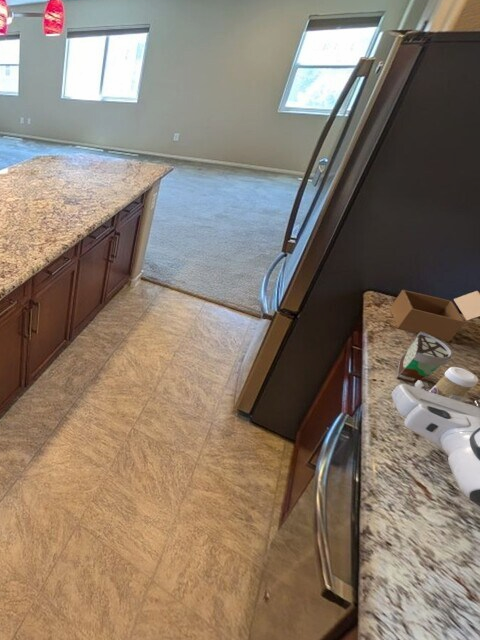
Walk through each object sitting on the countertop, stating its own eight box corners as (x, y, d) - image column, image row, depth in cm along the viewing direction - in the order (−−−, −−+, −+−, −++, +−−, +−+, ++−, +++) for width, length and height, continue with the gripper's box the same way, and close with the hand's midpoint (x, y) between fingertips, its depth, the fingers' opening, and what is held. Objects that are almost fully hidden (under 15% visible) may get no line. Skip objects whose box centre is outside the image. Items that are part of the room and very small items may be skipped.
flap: (453, 299, 117) (454, 299, 117) (466, 320, 109) (467, 321, 108) (477, 290, 113) (478, 291, 113) (493, 311, 105) (494, 312, 105)
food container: (429, 395, 97) (454, 367, 92) (395, 381, 101) (418, 353, 96) (431, 369, 104) (455, 342, 99) (399, 357, 108) (420, 330, 103)
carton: (437, 319, 121) (452, 301, 117) (449, 342, 113) (465, 322, 109) (389, 307, 127) (402, 289, 123) (397, 328, 118) (411, 309, 114)
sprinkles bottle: (409, 403, 95) (443, 364, 88) (431, 406, 94) (467, 367, 87) (425, 419, 91) (461, 380, 84) (447, 422, 90) (486, 383, 83)
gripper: (563, 455, 72) (529, 404, 81) (411, 404, 82) (396, 364, 92) (538, 474, 75) (508, 422, 85) (394, 423, 85) (382, 382, 95)
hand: (449, 392), depth 88 cm, fingers open, 8 cm apart
